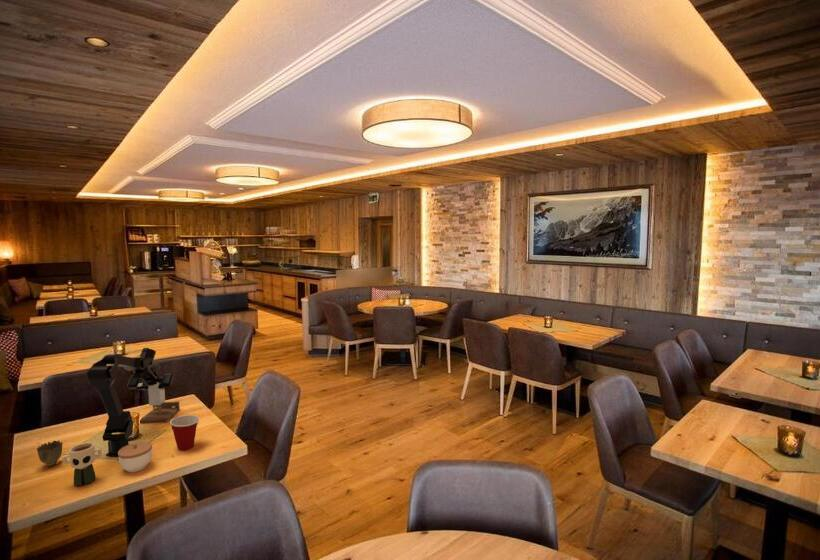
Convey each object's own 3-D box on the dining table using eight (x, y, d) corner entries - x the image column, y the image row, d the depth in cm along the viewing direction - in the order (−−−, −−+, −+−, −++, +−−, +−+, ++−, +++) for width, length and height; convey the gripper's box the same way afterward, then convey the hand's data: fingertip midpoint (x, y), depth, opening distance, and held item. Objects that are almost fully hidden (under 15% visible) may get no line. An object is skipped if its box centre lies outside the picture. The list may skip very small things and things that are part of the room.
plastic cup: (198, 451, 169) (196, 423, 168) (168, 455, 166) (166, 426, 165) (203, 439, 180) (201, 412, 179) (175, 442, 177) (173, 415, 175)
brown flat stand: (166, 422, 196) (165, 412, 196) (139, 423, 195) (138, 413, 195) (179, 410, 210) (179, 400, 210) (154, 411, 209) (153, 401, 208)
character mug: (63, 491, 143) (59, 455, 142) (67, 481, 149) (64, 446, 148) (102, 482, 148) (99, 447, 147) (105, 472, 155) (102, 439, 153)
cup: (34, 467, 158) (32, 447, 157) (56, 458, 165) (55, 438, 164) (46, 471, 155) (44, 451, 154) (68, 462, 162) (66, 442, 161)
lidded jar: (129, 461, 162) (127, 438, 161) (158, 459, 163) (157, 436, 163) (112, 477, 152) (110, 452, 151) (144, 475, 153) (142, 450, 152)
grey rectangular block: (160, 404, 200) (158, 380, 198) (149, 405, 199) (147, 381, 198) (165, 400, 204) (163, 377, 203) (154, 401, 204) (152, 377, 203)
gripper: (171, 357, 197) (182, 373, 209) (128, 359, 194) (142, 374, 206) (164, 379, 190) (176, 394, 202) (120, 381, 187) (135, 396, 199)
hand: (157, 389), depth 202 cm, fingers closed on grey rectangular block, 5 cm apart
